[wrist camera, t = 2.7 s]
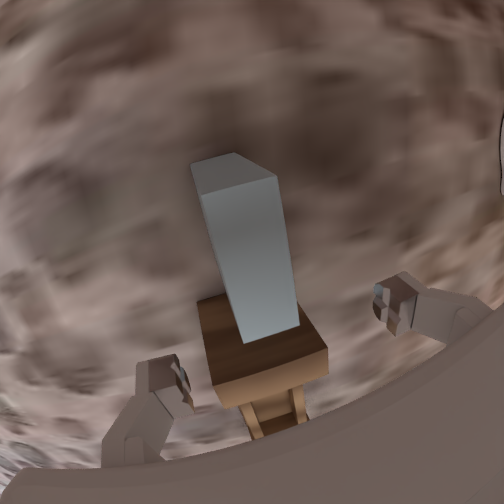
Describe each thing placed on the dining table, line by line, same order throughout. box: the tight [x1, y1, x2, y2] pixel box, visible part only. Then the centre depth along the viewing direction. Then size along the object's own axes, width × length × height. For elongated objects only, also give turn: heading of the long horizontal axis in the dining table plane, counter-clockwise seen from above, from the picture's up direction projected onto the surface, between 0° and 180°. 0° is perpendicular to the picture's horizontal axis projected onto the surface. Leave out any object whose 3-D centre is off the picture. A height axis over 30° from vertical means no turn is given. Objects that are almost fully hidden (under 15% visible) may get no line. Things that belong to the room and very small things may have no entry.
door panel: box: [190, 152, 300, 344], centre depth 19 cm, size 9×4×10 cm, turn 12°
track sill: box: [197, 293, 329, 440], centre depth 28 cm, size 24×8×10 cm, turn 12°
